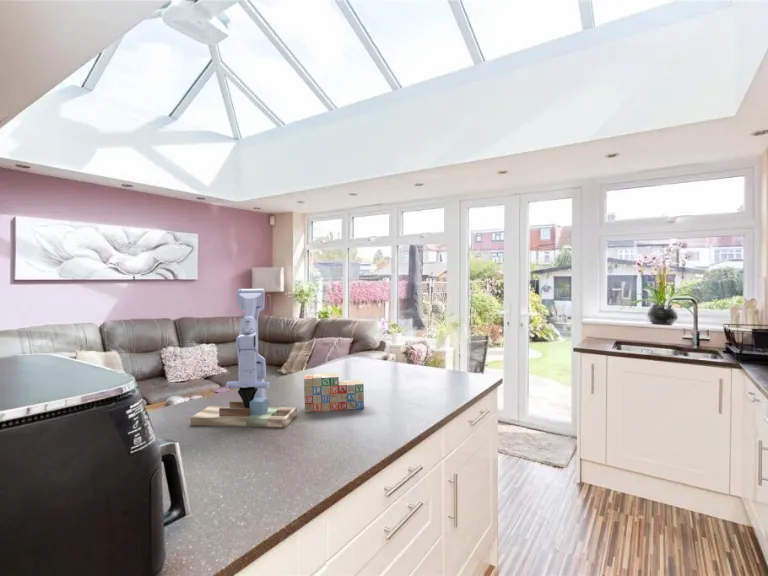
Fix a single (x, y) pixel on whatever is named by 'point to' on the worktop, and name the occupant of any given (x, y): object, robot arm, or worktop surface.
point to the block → (258, 406)
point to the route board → (243, 416)
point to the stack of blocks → (332, 393)
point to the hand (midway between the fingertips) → (248, 409)
